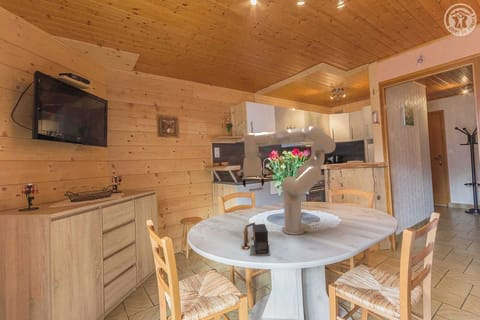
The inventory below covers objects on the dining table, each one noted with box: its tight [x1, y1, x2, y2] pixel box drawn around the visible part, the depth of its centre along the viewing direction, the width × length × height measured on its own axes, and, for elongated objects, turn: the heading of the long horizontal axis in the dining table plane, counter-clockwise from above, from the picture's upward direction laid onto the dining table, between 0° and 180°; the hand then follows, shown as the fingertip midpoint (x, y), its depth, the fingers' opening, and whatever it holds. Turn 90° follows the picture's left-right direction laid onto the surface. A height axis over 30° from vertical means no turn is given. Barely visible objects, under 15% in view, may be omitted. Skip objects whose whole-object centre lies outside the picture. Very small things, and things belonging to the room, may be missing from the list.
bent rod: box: [241, 222, 256, 251], centre depth 118 cm, size 5×17×9 cm, turn 156°
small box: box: [252, 223, 269, 254], centre depth 108 cm, size 11×6×10 cm, turn 2°
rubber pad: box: [249, 244, 271, 257], centre depth 108 cm, size 9×11×1 cm
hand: (253, 186), depth 126 cm, fingers open, 9 cm apart
